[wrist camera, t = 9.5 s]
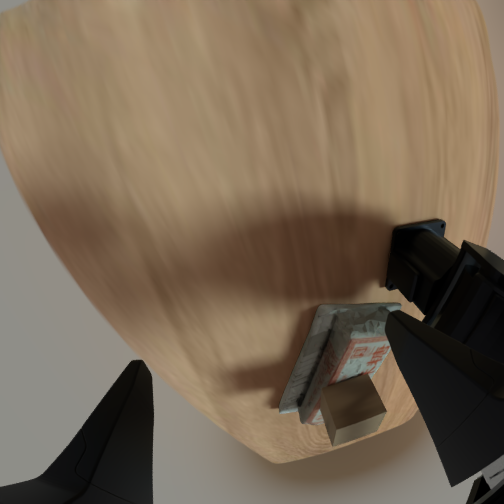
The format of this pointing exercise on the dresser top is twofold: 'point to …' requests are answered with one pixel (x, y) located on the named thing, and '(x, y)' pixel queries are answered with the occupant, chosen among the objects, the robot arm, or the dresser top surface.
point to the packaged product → (336, 354)
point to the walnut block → (351, 409)
